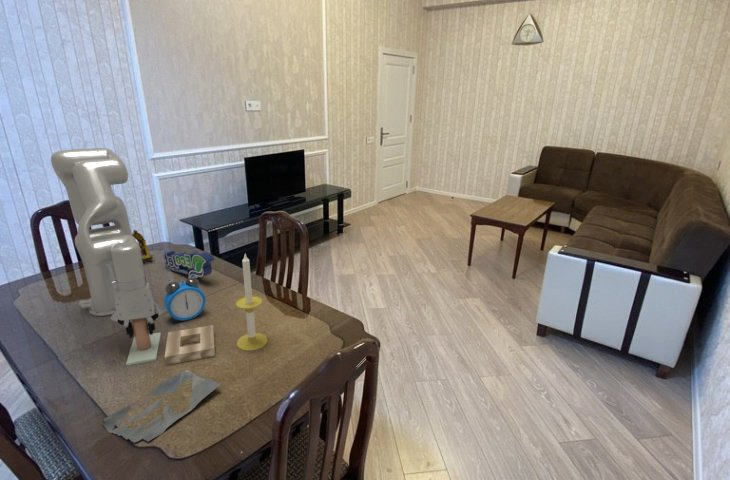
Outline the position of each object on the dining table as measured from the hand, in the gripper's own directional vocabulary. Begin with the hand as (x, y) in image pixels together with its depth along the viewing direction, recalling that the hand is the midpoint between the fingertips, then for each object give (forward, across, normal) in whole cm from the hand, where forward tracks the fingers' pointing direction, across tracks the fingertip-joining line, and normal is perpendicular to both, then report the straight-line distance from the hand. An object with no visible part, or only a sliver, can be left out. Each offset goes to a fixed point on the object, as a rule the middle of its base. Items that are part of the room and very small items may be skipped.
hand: (141, 333), depth 124 cm
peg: (+5, 0, 0) cm, 5 cm away
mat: (+6, 0, 0) cm, 6 cm away
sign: (+6, +12, +53) cm, 55 cm away
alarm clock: (+6, +12, +17) cm, 22 cm away
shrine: (+6, -10, +79) cm, 80 cm away
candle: (+6, +33, -7) cm, 34 cm away
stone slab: (+7, +8, -29) cm, 31 cm away
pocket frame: (+6, +14, -4) cm, 16 cm away
